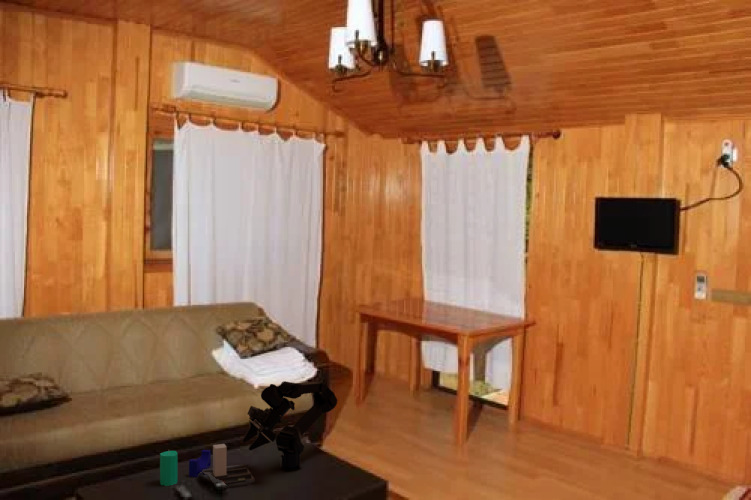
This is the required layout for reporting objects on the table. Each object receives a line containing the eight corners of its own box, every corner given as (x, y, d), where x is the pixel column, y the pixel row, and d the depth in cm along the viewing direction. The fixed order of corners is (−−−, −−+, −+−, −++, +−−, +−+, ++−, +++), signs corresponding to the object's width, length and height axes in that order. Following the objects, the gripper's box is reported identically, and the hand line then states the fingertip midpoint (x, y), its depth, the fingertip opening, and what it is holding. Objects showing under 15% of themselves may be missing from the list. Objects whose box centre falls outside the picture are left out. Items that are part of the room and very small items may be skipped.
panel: (246, 470, 250) (246, 465, 250) (254, 482, 239) (254, 476, 239) (208, 475, 244) (208, 470, 244) (214, 488, 233) (214, 482, 233)
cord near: (246, 484, 237) (246, 481, 237) (247, 485, 236) (247, 482, 236) (228, 487, 234) (228, 483, 234) (228, 488, 233) (228, 484, 233)
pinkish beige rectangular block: (225, 473, 243) (225, 443, 242) (227, 477, 239) (228, 447, 238) (211, 475, 241) (211, 445, 240) (213, 479, 237) (213, 448, 236)
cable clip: (199, 465, 255) (199, 449, 255) (210, 465, 255) (210, 450, 254) (185, 476, 244) (185, 460, 243) (196, 477, 243) (196, 461, 243)
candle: (161, 487, 233) (161, 452, 233) (158, 481, 239) (158, 447, 238) (179, 484, 236) (179, 450, 236) (175, 478, 242) (175, 445, 241)
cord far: (246, 466, 254) (246, 462, 254) (248, 469, 251) (248, 465, 251) (201, 472, 247) (201, 468, 247) (203, 475, 245) (203, 471, 245)
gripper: (254, 392, 253) (225, 424, 249) (268, 405, 236) (236, 439, 232) (274, 411, 257) (246, 443, 253) (289, 424, 240) (258, 459, 236)
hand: (246, 445), depth 243 cm, fingers open, 9 cm apart
